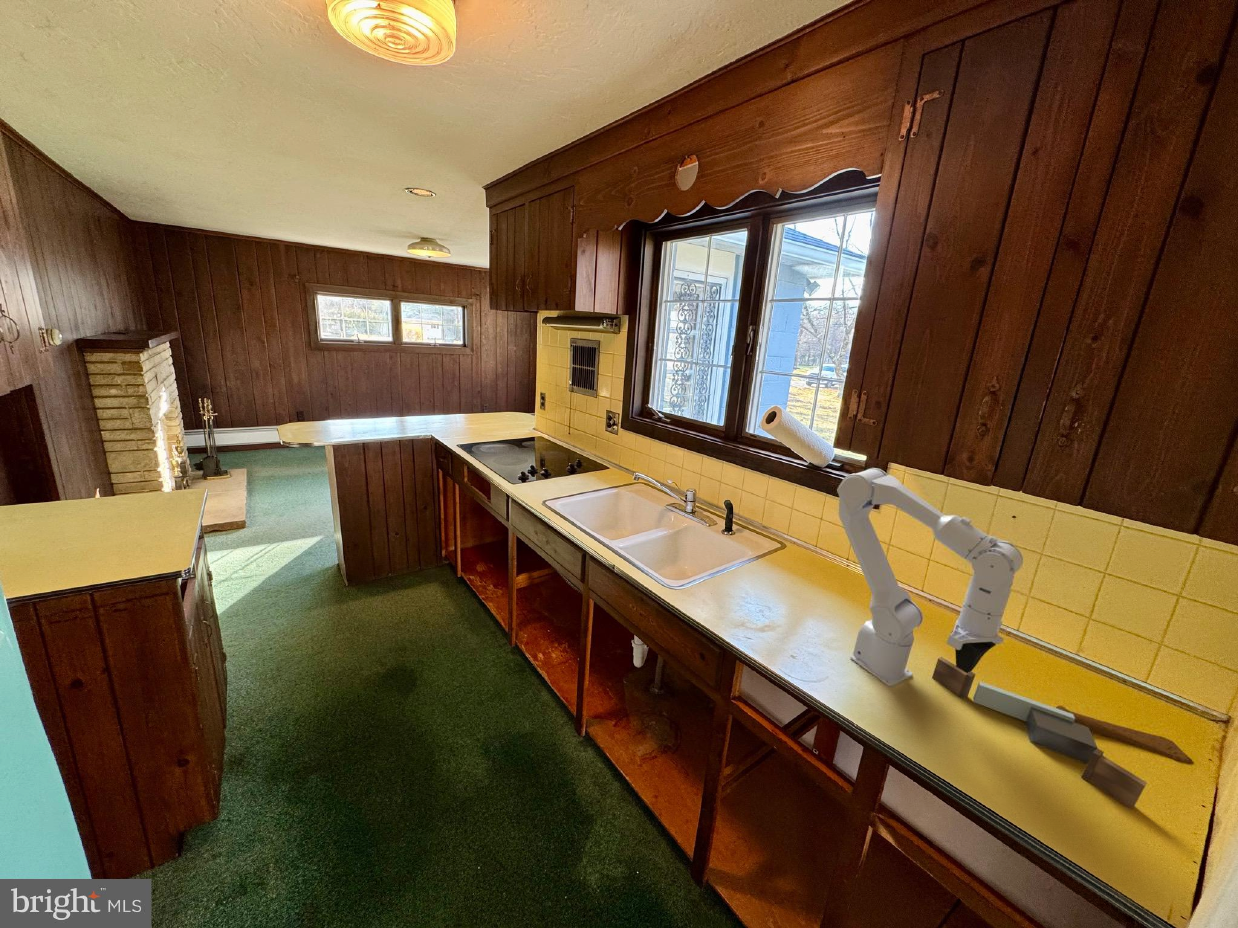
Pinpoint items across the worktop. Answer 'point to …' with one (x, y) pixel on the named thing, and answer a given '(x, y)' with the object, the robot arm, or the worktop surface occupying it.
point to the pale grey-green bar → (1013, 703)
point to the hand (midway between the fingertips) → (963, 668)
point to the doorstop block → (1060, 735)
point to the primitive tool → (1132, 737)
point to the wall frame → (1098, 767)
